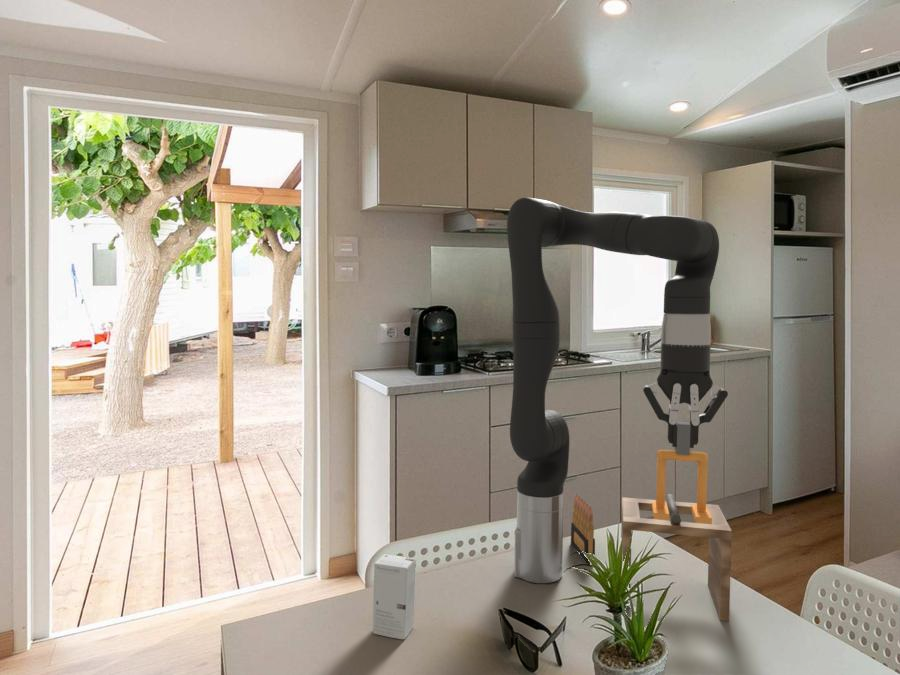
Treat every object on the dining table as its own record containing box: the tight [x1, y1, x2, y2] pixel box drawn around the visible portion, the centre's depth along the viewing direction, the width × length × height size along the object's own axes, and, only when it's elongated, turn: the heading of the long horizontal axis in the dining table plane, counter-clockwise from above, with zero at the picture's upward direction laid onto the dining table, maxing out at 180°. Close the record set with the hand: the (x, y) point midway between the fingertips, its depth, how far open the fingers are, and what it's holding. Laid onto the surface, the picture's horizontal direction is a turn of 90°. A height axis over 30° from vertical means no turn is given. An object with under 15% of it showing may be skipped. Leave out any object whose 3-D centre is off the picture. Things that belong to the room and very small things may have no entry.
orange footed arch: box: [651, 420, 712, 524], centre depth 102 cm, size 9×6×16 cm
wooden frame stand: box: [620, 493, 733, 622], centre depth 115 cm, size 18×14×18 cm
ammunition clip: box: [570, 493, 596, 564], centre depth 135 cm, size 11×2×12 cm, turn 7°
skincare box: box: [372, 553, 417, 640], centre depth 103 cm, size 6×4×12 cm
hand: (682, 446), depth 101 cm, fingers closed on orange footed arch
